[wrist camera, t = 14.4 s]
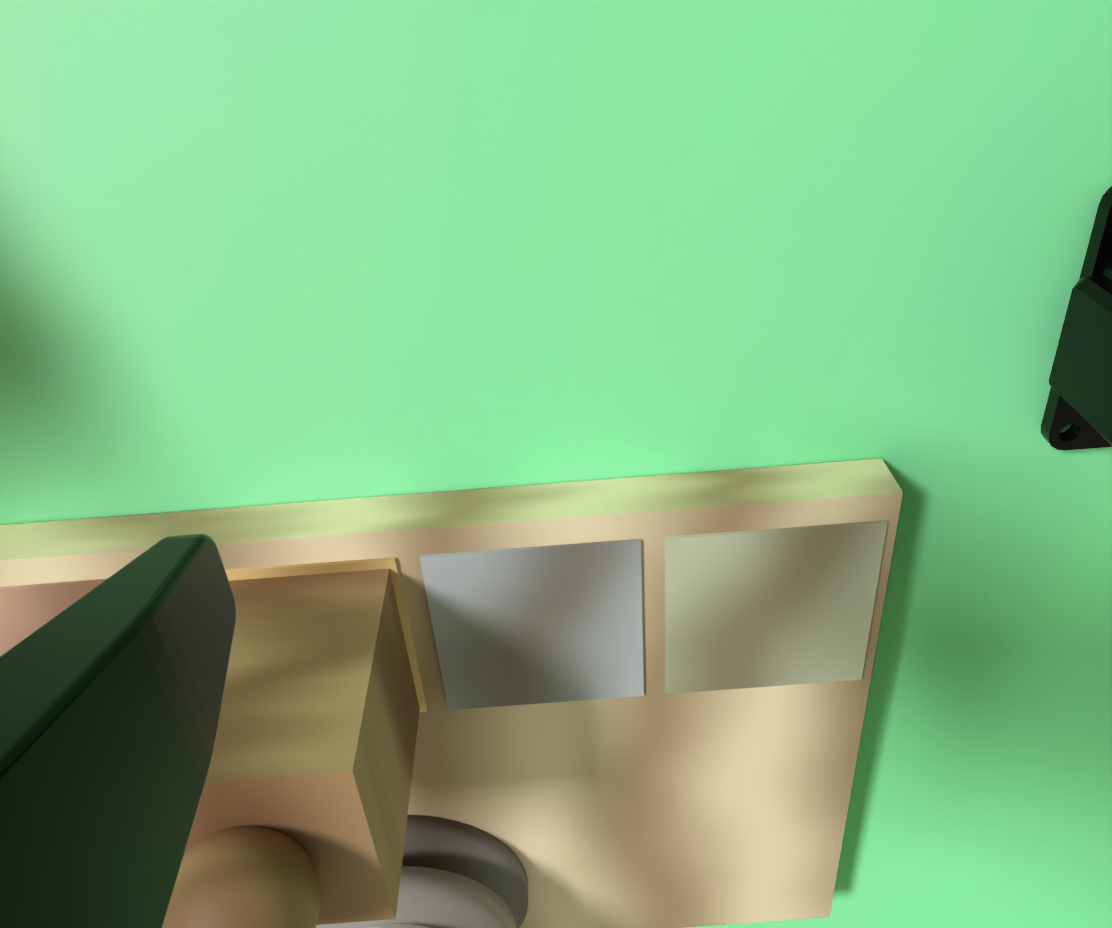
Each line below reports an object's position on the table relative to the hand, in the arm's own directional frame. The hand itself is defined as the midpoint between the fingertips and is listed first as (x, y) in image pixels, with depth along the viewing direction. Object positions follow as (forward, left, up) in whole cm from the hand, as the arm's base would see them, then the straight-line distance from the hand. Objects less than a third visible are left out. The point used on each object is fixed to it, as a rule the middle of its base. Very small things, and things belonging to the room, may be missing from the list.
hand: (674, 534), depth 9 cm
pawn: (+8, +11, -10) cm, 17 cm away
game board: (+5, +17, -12) cm, 21 cm away
